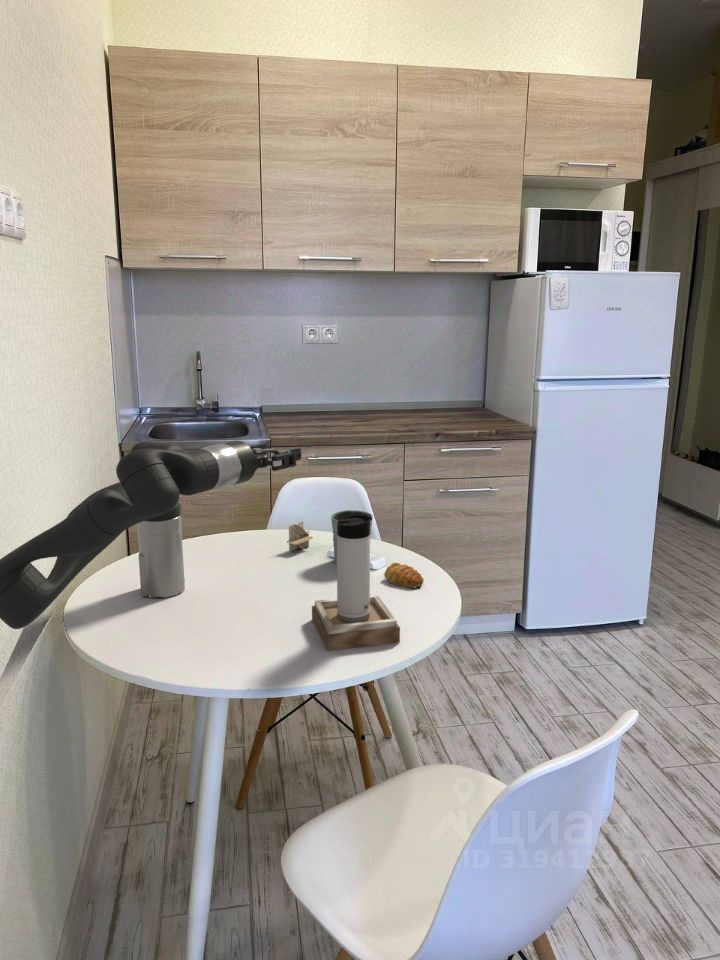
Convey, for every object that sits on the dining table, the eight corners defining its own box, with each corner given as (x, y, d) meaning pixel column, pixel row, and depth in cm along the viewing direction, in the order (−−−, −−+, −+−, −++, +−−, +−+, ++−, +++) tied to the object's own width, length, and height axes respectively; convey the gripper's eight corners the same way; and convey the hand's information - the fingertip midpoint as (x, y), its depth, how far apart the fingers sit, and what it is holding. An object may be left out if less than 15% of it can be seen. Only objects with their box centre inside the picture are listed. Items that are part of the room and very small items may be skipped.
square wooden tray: (326, 650, 130) (326, 629, 129) (312, 619, 143) (311, 600, 142) (399, 642, 133) (400, 621, 132) (378, 612, 146) (379, 593, 145)
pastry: (430, 584, 162) (431, 569, 161) (410, 592, 157) (410, 576, 157) (400, 574, 169) (400, 558, 168) (380, 581, 164) (380, 565, 163)
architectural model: (313, 550, 186) (313, 523, 184) (295, 557, 181) (295, 529, 179) (303, 547, 188) (303, 520, 186) (285, 554, 183) (285, 527, 181)
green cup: (367, 554, 182) (367, 509, 179) (376, 567, 172) (377, 520, 169) (328, 556, 180) (327, 511, 177) (335, 570, 170) (335, 522, 167)
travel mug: (375, 621, 135) (376, 520, 130) (342, 625, 133) (341, 523, 129) (365, 608, 141) (366, 511, 136) (333, 612, 139) (333, 513, 134)
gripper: (194, 482, 127) (254, 466, 140) (255, 491, 119) (312, 474, 132) (191, 440, 125) (252, 429, 138) (253, 447, 117) (311, 435, 131)
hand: (281, 451), depth 135 cm, fingers open, 8 cm apart
